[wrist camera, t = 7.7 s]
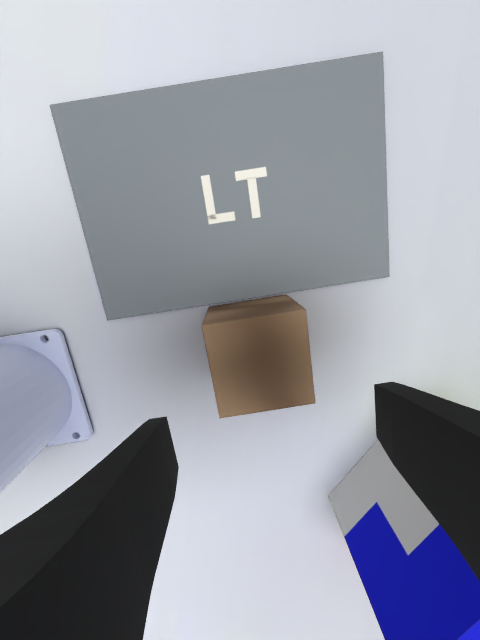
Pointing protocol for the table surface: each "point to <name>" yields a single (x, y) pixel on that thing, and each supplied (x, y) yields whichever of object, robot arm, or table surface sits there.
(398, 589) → the puzzle toy
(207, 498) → the table surface
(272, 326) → the walnut block
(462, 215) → the table surface
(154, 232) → the gray tile
